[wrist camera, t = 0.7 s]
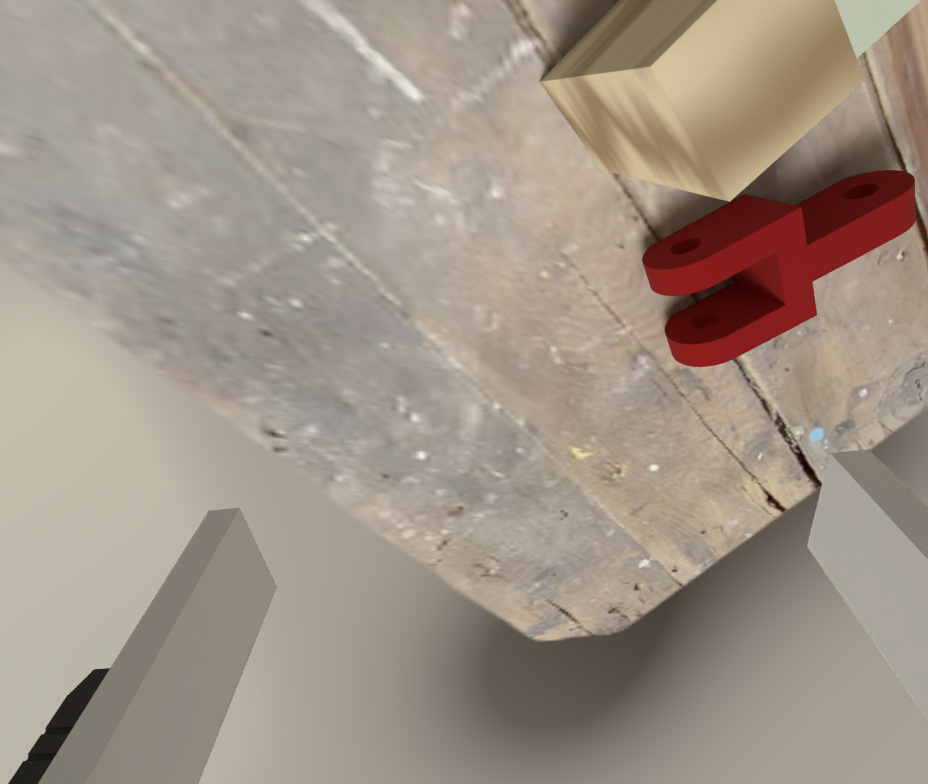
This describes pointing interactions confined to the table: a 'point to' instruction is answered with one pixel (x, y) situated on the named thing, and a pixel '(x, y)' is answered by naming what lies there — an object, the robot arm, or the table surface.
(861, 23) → the sage board
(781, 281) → the mechanical linkage
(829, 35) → the beech block
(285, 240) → the table surface
